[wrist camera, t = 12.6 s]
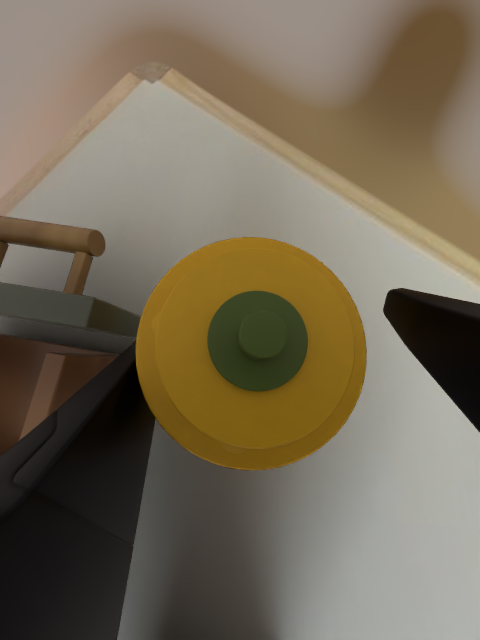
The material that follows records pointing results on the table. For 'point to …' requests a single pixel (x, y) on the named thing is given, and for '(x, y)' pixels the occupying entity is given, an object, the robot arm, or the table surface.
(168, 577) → the table surface
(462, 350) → the robot arm
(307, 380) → the yellow pepper
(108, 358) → the drawer
